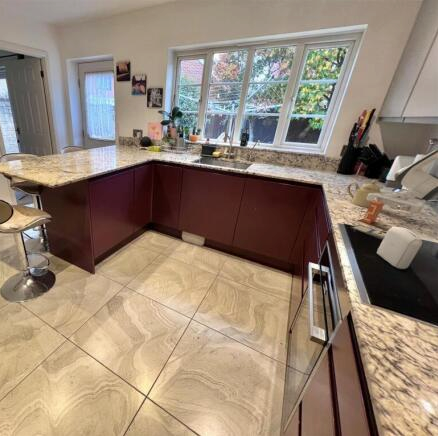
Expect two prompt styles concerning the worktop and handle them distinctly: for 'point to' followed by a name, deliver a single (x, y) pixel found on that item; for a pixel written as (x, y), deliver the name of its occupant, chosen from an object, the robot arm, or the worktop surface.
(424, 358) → the worktop surface
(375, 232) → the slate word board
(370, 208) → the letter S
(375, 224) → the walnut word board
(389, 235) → the photo printer
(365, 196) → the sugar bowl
